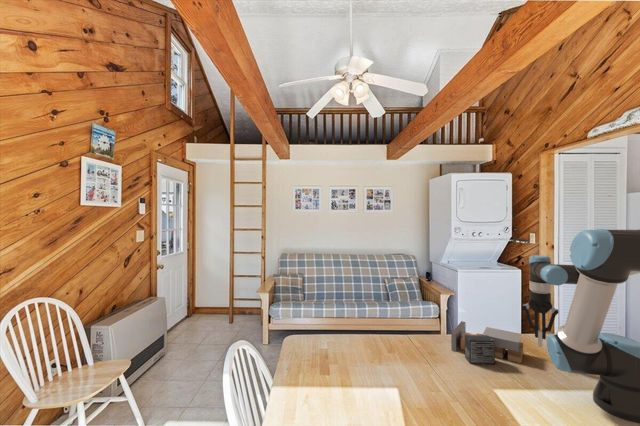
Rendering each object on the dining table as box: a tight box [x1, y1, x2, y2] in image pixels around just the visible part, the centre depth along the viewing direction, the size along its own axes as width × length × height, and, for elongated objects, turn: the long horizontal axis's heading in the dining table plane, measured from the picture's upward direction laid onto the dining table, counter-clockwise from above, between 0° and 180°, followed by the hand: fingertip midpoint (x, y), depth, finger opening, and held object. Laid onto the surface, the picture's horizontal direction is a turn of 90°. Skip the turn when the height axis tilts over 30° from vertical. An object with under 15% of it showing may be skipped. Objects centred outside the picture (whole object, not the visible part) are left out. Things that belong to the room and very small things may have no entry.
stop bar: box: [450, 321, 467, 352], centre depth 152 cm, size 20×2×8 cm, turn 142°
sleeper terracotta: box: [460, 332, 476, 351], centre depth 149 cm, size 11×4×4 cm, turn 142°
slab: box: [481, 326, 522, 352], centre depth 141 cm, size 12×14×4 cm
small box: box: [464, 334, 496, 366], centre depth 134 cm, size 11×6×10 cm, turn 84°
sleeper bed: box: [475, 333, 524, 364], centre depth 142 cm, size 11×19×5 cm, turn 52°
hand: (540, 345), depth 132 cm, fingers closed
